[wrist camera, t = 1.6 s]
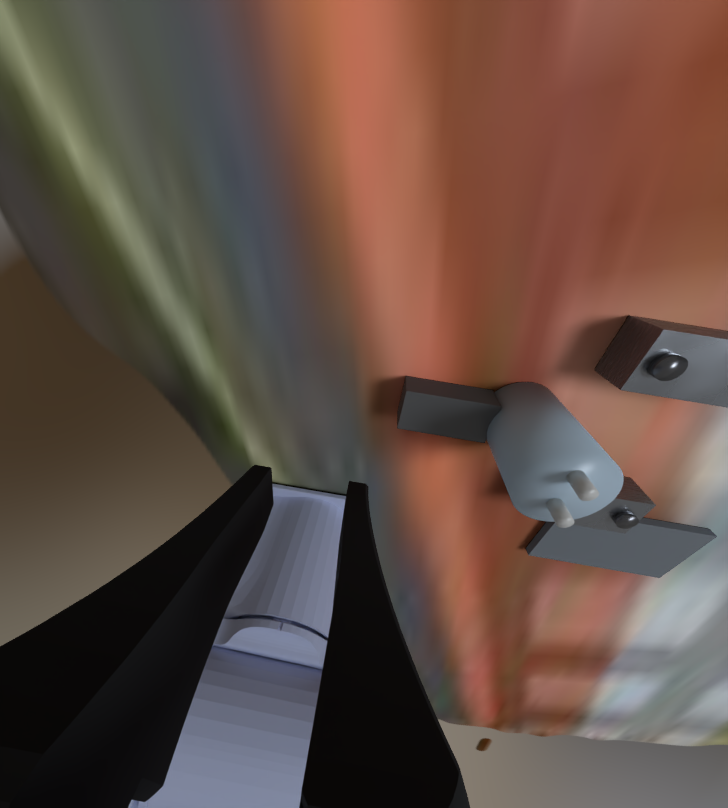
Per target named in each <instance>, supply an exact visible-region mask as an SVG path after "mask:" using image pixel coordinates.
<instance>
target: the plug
mask: <svg viewBox="0 0 728 808" xmlns="http://www.w3.org/2000/svg"><path fill="white" fill-rule="evenodd" d="M397 428H398V429H404V430H410V431H416V432H422V433H428V434H434V435H440V436H446V437H452V438H458V439H464V440H470V441H476V442H482V443H485V441H486V439H487V441H488V444H489V446H490V449H491V451H492V454H493V456H494V459H495V461H496V464H497V466H498V469H499V471H500V474H501V476H502V478H503V481H504V483H505V486H506V488H507V491H508V493H509V496H510V498H511V501H512V503H513V505H514V507H515V508H516V509H517V510H518V511H519V512H521V513H522V514H524V515H525V516H527V517H530V518H533V519H536V520H541V521H549V522H555V523H556V525H557V526H558V527H561V528H567V527H570V526H572V525H573V524H574V519H579V518H582V517H585V516H588V515H591V514H593V513H595V512H597V511H599V510H601V509H602V508H604V507H606V506H607V505H608V504H610V503H611V502H612V501H613V500H614V499H615V498H616V497H617V495H618V494H619V492H620V491H621V489H622V486H623V481H624V478H623V473H622V471H621V469H620V467H619V466H618V465H617V464H616V463H615V462H614V460H613V459H612V458H611V457H610V456H609V455H608V454H607V453H606V452H605V451H604V449H603V448H602V447H601V446H600V445H599V444H598V443H597V442H596V441H595V439H594V438H593V437H592V436H591V435H590V434H589V433H588V432H587V431H586V429H585V428H584V427H583V426H582V425H581V424H580V423H579V422H578V421H577V420H576V418H575V417H574V416H573V415H572V414H571V413H570V412H569V411H568V410H567V408H566V407H565V406H564V405H563V404H562V403H561V402H560V401H559V400H558V398H557V397H556V396H555V395H554V394H553V393H552V392H551V391H550V390H549V389H548V388H547V387H545V386H543V385H541V384H538V383H534V382H518V383H513V384H510V385H507V386H504V387H502V388H500V389H499V390H497V391H495V392H493V390H489V389H483V388H477V387H471V386H465V385H458V384H452V383H446V382H440V381H434V380H428V379H422V378H416V377H410V376H406V378H405V382H404V386H403V390H402V395H401V399H400V403H399V407H398V411H397Z"/></svg>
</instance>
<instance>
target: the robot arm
mask: <svg viewBox="0 0 728 808" xmlns="http://www.w3.org/2000/svg"><path fill="white" fill-rule="evenodd" d="M0 808H470V805H469V801H468V797H467V793H466V790H465V786H464V782H463V779H462V775H461V771H460V768H459V765H458V763H457V761H456V758H455V756H454V754H453V752H452V750H451V748H450V745H449V744H448V741H447V739H446V737H445V735H444V733H443V730H442V728H441V726H440V724H439V722H438V719H437V717H436V715H435V713H434V710H433V708H432V706H431V703H430V701H429V699H428V696H427V694H426V692H425V689H424V687H423V685H422V682H421V680H420V678H419V675H418V673H417V670H416V668H415V665H414V662H413V660H412V657H411V655H410V652H409V650H408V647H407V645H406V642H405V639H404V637H403V634H402V632H401V629H400V626H399V623H398V620H397V617H396V614H395V612H394V609H393V606H392V602H391V599H390V596H389V593H388V590H387V587H386V583H385V580H384V576H383V573H382V569H381V565H380V561H379V557H378V553H377V549H376V544H375V539H374V534H373V530H372V524H371V518H370V511H369V501H368V486H367V485H366V484H363V483H357V482H352V481H349V485H348V489H347V494H346V496H342V495H336V494H330V493H324V492H319V491H313V490H307V489H301V488H295V487H290V486H284V485H278V484H272V471H271V468H270V467H264V466H258V465H254V466H252V467H251V468H250V469H249V470H248V471H247V472H246V473H245V474H244V475H243V476H242V477H241V478H240V479H239V480H238V481H237V482H236V483H235V484H234V485H233V486H231V487H230V488H229V489H228V490H227V491H226V492H225V493H224V494H223V495H222V496H221V497H220V498H218V499H217V500H216V501H215V502H214V503H213V504H212V505H211V506H209V507H208V508H207V509H206V510H205V511H204V512H202V513H201V514H200V515H199V516H198V517H197V518H195V519H194V520H193V521H192V522H190V523H189V524H188V525H187V526H185V527H184V528H183V529H182V530H180V532H178V533H177V534H176V535H174V536H173V537H172V538H170V539H169V540H168V541H166V542H165V543H164V544H163V545H161V546H160V547H158V548H157V549H156V550H154V551H153V552H152V553H150V554H149V555H147V556H146V557H145V558H143V559H142V560H141V561H139V562H138V563H136V564H135V565H133V566H132V567H130V568H129V569H127V570H126V571H124V572H123V573H121V574H120V575H119V576H117V577H116V578H114V579H113V580H111V581H110V582H108V583H107V584H105V585H103V586H102V587H100V588H99V589H97V590H96V591H94V592H93V593H91V594H89V595H88V596H86V597H84V598H83V599H81V600H79V601H78V602H76V603H74V604H73V605H71V606H69V607H68V608H66V609H65V610H63V611H61V612H60V613H58V614H56V615H55V616H53V617H51V618H50V619H48V620H47V621H45V622H43V623H41V624H40V625H38V626H36V627H34V628H33V629H31V630H29V631H27V632H26V633H24V634H22V635H20V636H19V637H17V638H15V639H13V640H11V641H9V642H8V643H6V644H4V645H2V646H0Z"/></svg>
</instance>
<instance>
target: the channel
mask: <svg viewBox="0 0 728 808" xmlns="http://www.w3.org/2000/svg"><path fill="white" fill-rule="evenodd" d="M595 371H596V372H597V373H599V374H600V375H601V376H603V377H604V378H605V379H607V380H608V381H609V382H611V383H612V384H613V385H615V386H616V387H617V388H619V389H620V390H624V391H630V392H636V393H642V394H648V395H655V396H661V397H667V398H673V399H679V400H685V401H691V402H697V403H704V404H710V405H716V406H722V407H728V331H724V330H718V329H712V328H705V327H699V326H693V325H686V324H680V323H674V322H668V321H661V320H655V319H649V318H642V317H636V316H630V315H629V316H628V318H627V319H626V321H625V322H624V324H623V326H622V327H621V329H620V330H619V332H618V333H617V335H616V337H615V338H614V340H613V341H612V343H611V344H610V346H609V348H608V349H607V351H606V352H605V354H604V355H603V357H602V359H601V360H600V362H599V363H598V365H597V366H596V368H595ZM623 478H624V481H623V486H622V489H621V491H620V492H619V494H618V495H617V497H616V498H615V499H614V500H613V501H612V502H611V503H610V504H608V505H607V506H606V507H604V508H602V509H601V510H599V511H597V512H595V513H593V514H591V515H588V516H585V517H582V518H579V519H574V524H573V525H577V526H583V527H589V528H595V529H600V530H606V531H612V532H618V533H624V534H625V533H627V532H628V531H629V530H630V529H631V528H632V527H634V526H636V525H637V524H638V523H639V520H641V519H642V518H643V517H644V516H645V515H646V514H647V513H648V512H649V511H650V510H651V509H652V508H654V507H655V506H656V505H655V504H654V503H653V501H652V500H651V499H650V498H649V497H648V496H647V495H646V494H645V493H644V492H643V490H642V489H641V488H640V487H639V486H638V485H637V484H636V483H635V482H634V481H633V479H632V478H627V477H623Z"/></svg>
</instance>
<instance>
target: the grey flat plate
mask: <svg viewBox="0 0 728 808" xmlns="http://www.w3.org/2000/svg"><path fill="white" fill-rule="evenodd" d="M716 537H717V536H716V535H715V534H714V533H713V532H712V531H711V530H710V529H706V528H700V527H695V526H689V525H683V524H677V523H671V522H665V521H659V520H654V519H648V518H642V519H641V520H639V523H638V524H637V525H636V526H634V527H632V528H631V529H630V530H629V531H628V532H627V533H625V534H624V533H618V532H612V531H606V530H600V529H595V528H589V527H583V526H577V525H572V526H570V527H567V528H561V527H558V526H557V525H556V523H555V522H549V521H547V522H546V523H545V525H544V526H543V527H542V528H541V530H540V531H539V532H538V533H537V535H536V536H535V537H534V538H533V540H532V541H531V542H530V543H529V545H528V546H527V547H526V550H527V553H528V555H531V556H536V557H542V558H548V559H554V560H559V561H565V562H571V563H577V564H582V565H588V566H594V567H600V568H605V569H611V570H617V571H623V572H628V573H634V574H640V575H646V576H651V577H657V578H660V577H661V576H663V575H664V574H666V573H667V572H668V571H670V570H671V569H673V568H674V567H675V566H677V565H678V564H679V563H681V562H682V561H684V560H685V559H686V558H688V557H689V556H691V555H692V554H693V553H695V552H696V551H698V550H699V549H700V548H702V547H703V546H705V545H706V544H707V543H709V542H710V541H712V540H713V539H714V538H716Z"/></svg>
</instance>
